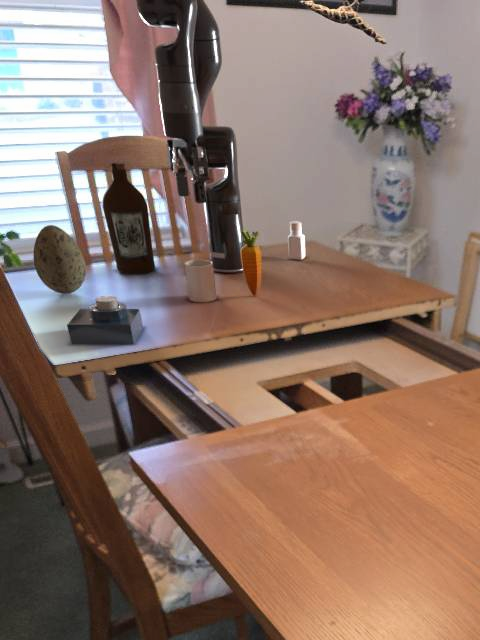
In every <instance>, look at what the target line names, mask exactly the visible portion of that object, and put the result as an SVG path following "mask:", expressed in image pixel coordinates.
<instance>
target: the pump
mask: <svg viewBox="0 0 480 640" xmlns="http://www.w3.org/2000/svg"><path fill="white" fill-rule="evenodd" d="M117 298H118V297H117V296H114V295H101V296H97V297H96V298H94V299H95V304H96V306H97V309H98V310H113V309H116V308H118V303H117V302H118V299H117Z"/></svg>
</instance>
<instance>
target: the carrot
mask: <svg viewBox="0 0 480 640" xmlns="http://www.w3.org/2000/svg"><path fill="white" fill-rule="evenodd" d="M241 233H242V235H243V237H244V240H242V241H243V242H244V243H245V246H243V247H242V248H241V250H240V253H241V261H242V268H243V271H242V272H243V277H244V279H245V283H246V286H247V287H248V289H249V292H250V293H251V294H252V296H254V297H256V295H257V294H258V292H259V289H260V287H261V283H262V274H263V266H262V265H263V261H262V251H261V249H260V247H259V246H258V245H255V244H256V241H257V239H258V237H259V235H260V232H259V231H255V234H254V236H253V237H252V235H251V234H250V232H249V231H246V230H245V229H243V230H242V231H241Z"/></svg>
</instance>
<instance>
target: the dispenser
mask: <svg viewBox="0 0 480 640" xmlns="http://www.w3.org/2000/svg"><path fill="white" fill-rule="evenodd" d="M117 303H118V308H116V309H113V310H98V309H97V306H96V303H94V304H91V305H90V306H88V308H80V309H78V311H77V312H76V313H75V315H73V317H72V318H71V319H70V320H69V321H68V323H67V324H66V327H67V331H68V335H69V340H70V343H71V345H135V343H136V341H137V340H138V337H139V335H140V334H141V332H142V331H143V329H144V325H143V319H142V315H141V308H127V305H126V304H125V303H124V302H121V301H117Z"/></svg>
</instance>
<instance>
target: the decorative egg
mask: <svg viewBox="0 0 480 640" xmlns="http://www.w3.org/2000/svg"><path fill="white" fill-rule="evenodd" d="M33 265H34V269H35V272H36V274H37V276H38V278H39V280H40V281H41V282H42V284H44V286H46V287H47V288H48V289H50V290H51V291H53V292H55V293H59V294H62V295H63V294H64V295H67V294H73V293H75V292H76V291H78V290H79V289H80V288H81V287H82V286H83V284H84V282H85V279H86V275H87V266H86V262H85V258H84V255H83V253H82V251H81V249H80V247H79V245H77V243H76V241H75V240H74V239H73V238H72V236H71V235H70V234H68V233H67V232H66V231H65V230H64V229H63V228H61V227H58V226H56V225H53V224H48V225H45V226H43V227H42V228H41V230H40V231H39V233H38V234H37V236H36V239H35V242H34V245H33Z"/></svg>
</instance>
